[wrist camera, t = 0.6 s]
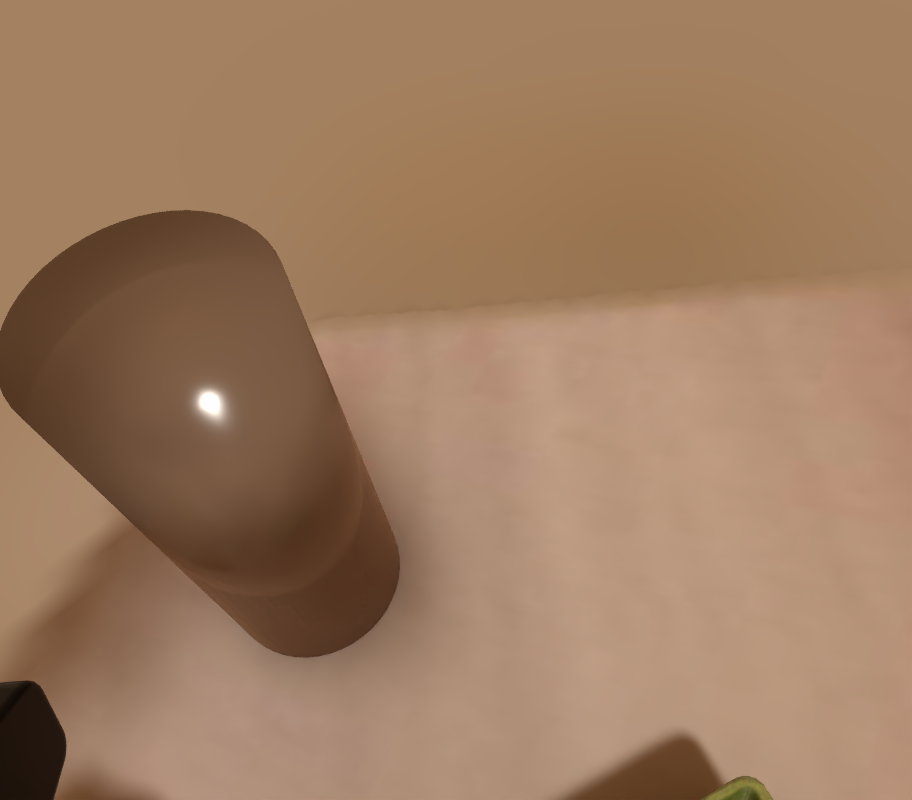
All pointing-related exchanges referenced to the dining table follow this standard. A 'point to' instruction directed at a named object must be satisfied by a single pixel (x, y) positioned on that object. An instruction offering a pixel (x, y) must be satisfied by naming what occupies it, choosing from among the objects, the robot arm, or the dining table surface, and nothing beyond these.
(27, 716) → the robot arm
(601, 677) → the dining table surface
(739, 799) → the green square dish
